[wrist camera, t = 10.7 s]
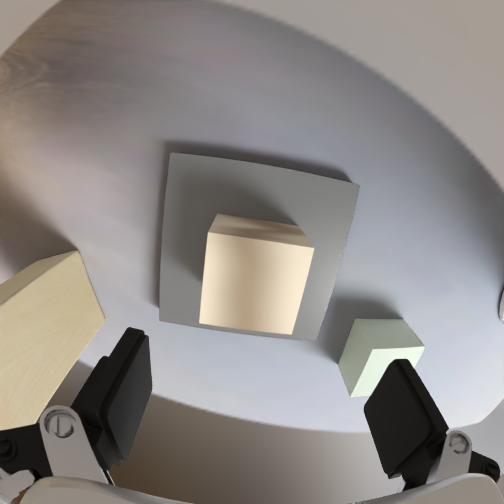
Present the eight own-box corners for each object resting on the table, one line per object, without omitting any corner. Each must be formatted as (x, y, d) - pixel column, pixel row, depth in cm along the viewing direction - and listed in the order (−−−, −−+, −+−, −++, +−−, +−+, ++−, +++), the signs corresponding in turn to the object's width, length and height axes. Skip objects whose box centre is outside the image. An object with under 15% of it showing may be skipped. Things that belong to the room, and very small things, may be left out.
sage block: (403, 318, 25) (425, 346, 21) (384, 362, 27) (400, 391, 23) (354, 317, 25) (372, 349, 20) (337, 364, 27) (350, 397, 22)
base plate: (352, 183, 21) (359, 185, 19) (312, 331, 25) (315, 341, 24) (175, 152, 20) (170, 152, 18) (163, 311, 24) (159, 320, 23)
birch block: (299, 226, 20) (314, 248, 16) (283, 298, 22) (291, 334, 18) (217, 213, 20) (208, 232, 15) (208, 287, 22) (199, 323, 17)
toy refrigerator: (32, 259, 22) (-103, 373, 3) (78, 246, 22) (-90, 393, 2) (59, 323, 25) (-39, 457, 5) (107, 320, 25) (4, 493, 5)
